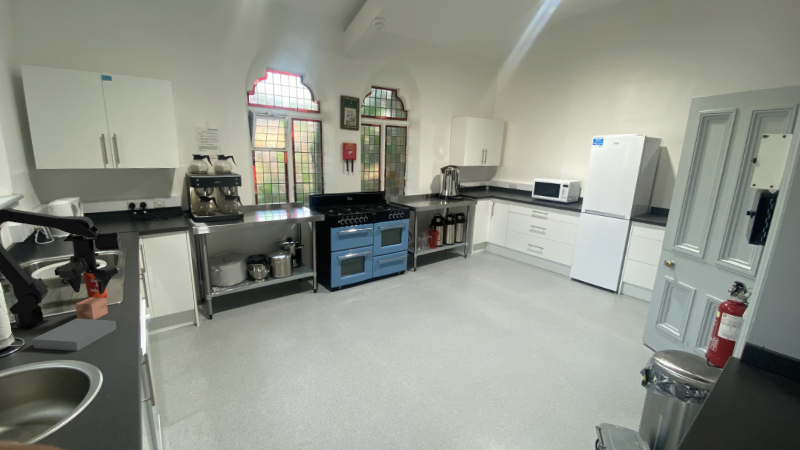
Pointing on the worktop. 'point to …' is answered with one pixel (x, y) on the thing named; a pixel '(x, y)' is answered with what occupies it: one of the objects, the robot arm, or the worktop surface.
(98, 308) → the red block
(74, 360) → the worktop surface
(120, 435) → the worktop surface
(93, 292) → the paper cup
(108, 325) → the plinth
